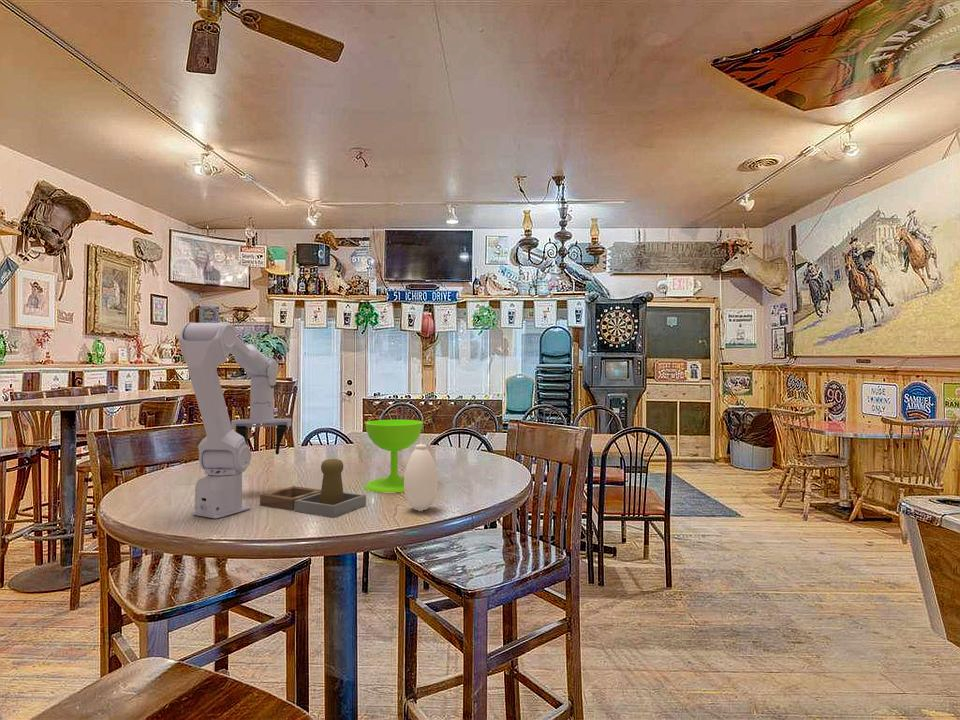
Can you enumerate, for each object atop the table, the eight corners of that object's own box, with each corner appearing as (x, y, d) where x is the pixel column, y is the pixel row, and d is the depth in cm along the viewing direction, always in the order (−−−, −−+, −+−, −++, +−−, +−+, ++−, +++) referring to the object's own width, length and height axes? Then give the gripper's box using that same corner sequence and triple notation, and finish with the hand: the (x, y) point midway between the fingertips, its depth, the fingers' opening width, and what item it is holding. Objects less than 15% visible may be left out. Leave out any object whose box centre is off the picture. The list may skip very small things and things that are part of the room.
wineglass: (358, 492, 143) (358, 425, 143) (372, 480, 159) (372, 419, 159) (417, 493, 142) (418, 425, 142) (426, 480, 158) (426, 419, 158)
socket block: (292, 510, 125) (293, 499, 125) (260, 505, 129) (260, 494, 129) (324, 500, 134) (324, 490, 134) (292, 495, 139) (292, 486, 139)
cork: (343, 508, 125) (343, 461, 125) (316, 509, 124) (317, 461, 124) (346, 502, 131) (346, 457, 131) (321, 502, 130) (321, 457, 130)
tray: (333, 517, 119) (333, 506, 119) (294, 511, 124) (294, 500, 124) (365, 505, 130) (366, 495, 130) (328, 500, 135) (328, 490, 135)
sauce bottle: (444, 508, 127) (444, 432, 127) (424, 516, 120) (424, 436, 120) (417, 504, 131) (418, 430, 131) (397, 511, 124) (397, 434, 124)
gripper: (292, 401, 147) (291, 450, 147) (234, 402, 143) (234, 453, 143) (290, 403, 140) (290, 455, 140) (230, 403, 136) (229, 457, 136)
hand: (261, 454), depth 141 cm, fingers open, 7 cm apart
